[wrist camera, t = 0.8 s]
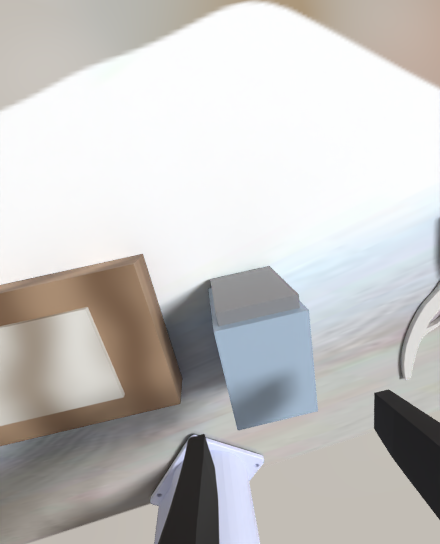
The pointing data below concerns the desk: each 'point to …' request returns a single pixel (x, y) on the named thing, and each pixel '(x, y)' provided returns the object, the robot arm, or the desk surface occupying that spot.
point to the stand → (82, 350)
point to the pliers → (419, 330)
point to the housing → (263, 347)
